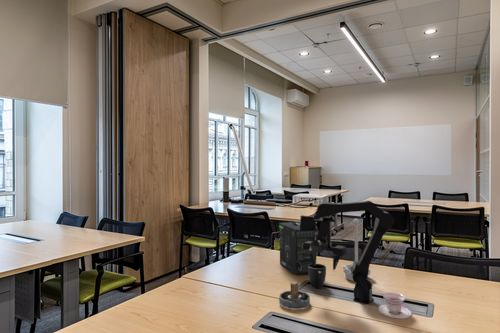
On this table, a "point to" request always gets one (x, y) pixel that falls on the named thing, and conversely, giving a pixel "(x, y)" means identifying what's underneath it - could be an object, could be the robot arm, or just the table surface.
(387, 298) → the teacup
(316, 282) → the mug
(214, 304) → the table surface
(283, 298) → the tin
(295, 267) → the headset box
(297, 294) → the tan wooden plank
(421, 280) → the table surface
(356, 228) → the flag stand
